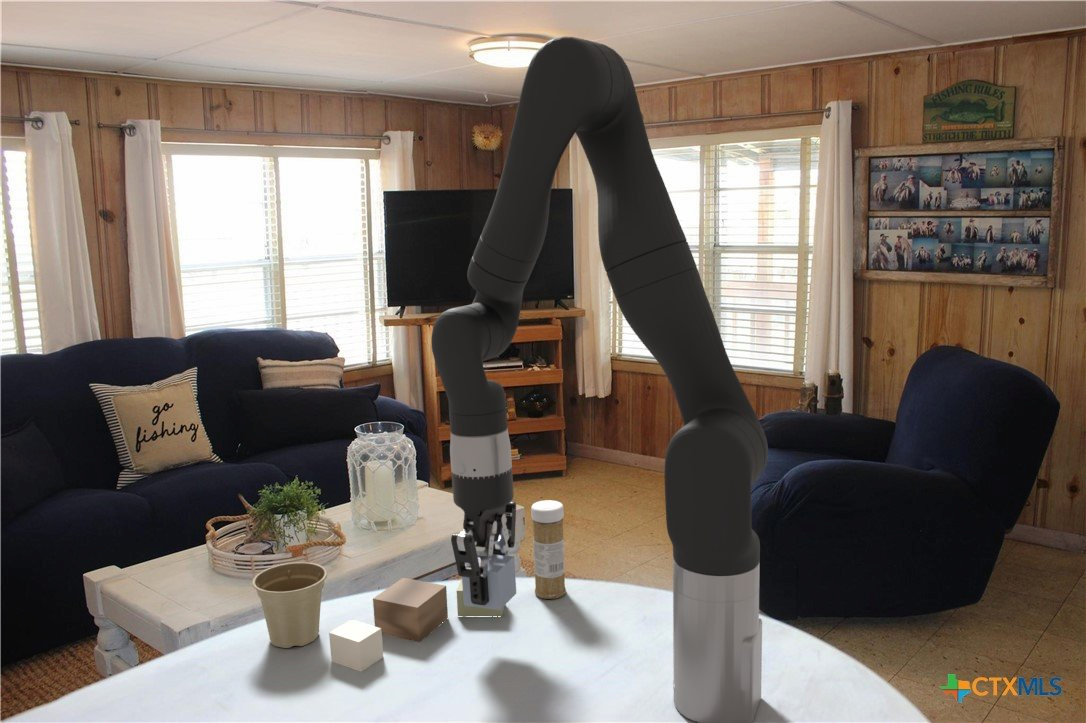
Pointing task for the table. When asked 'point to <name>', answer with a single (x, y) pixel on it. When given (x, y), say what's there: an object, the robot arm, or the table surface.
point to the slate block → (495, 582)
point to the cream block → (356, 645)
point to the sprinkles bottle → (548, 549)
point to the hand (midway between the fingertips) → (490, 593)
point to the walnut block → (410, 609)
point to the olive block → (471, 610)
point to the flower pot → (291, 601)
